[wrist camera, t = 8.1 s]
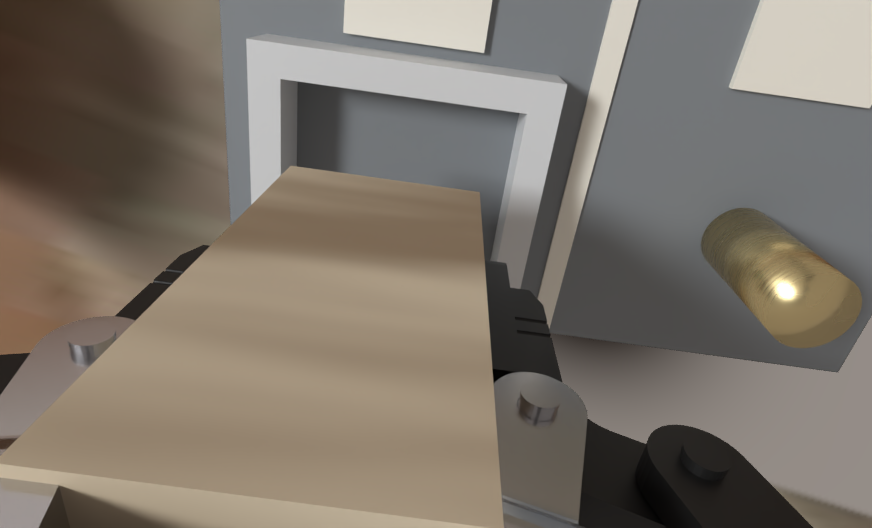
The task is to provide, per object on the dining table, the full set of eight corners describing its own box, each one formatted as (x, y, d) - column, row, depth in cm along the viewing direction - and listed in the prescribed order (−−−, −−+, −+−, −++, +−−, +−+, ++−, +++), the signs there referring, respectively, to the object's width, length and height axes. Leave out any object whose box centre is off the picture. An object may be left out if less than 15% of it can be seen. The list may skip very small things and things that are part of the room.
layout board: (226, -214, 13) (175, -258, 10) (1068, -88, 13) (1196, -105, 11) (245, 275, 18) (215, 314, 16) (820, 354, 19) (867, 403, 17)
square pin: (290, 165, 11) (-8, 463, 4) (479, 192, 11) (503, 530, 4) (289, 324, 13) (80, 721, 6) (452, 346, 13) (437, 764, 6)
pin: (715, 203, 15) (790, 267, 12) (784, 212, 15) (878, 280, 12) (691, 264, 16) (753, 341, 13) (756, 273, 16) (836, 353, 13)
